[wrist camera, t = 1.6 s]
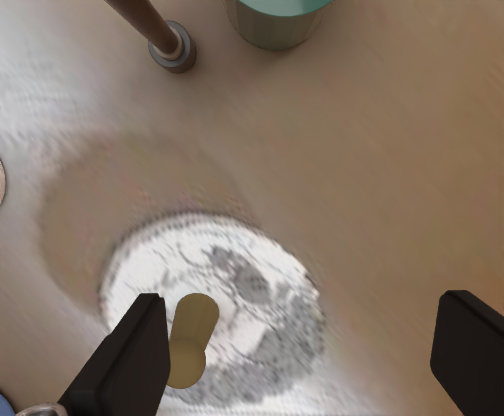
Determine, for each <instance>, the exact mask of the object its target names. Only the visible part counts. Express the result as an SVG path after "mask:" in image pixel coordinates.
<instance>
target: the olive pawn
mask: <svg viewBox="0 0 504 416" xmlns="http://www.w3.org/2000/svg"><path fill="white" fill-rule="evenodd" d="M218 318H219V309H218V306H217V304H216V303H215V301H214V300H213V299H212V298H210V297H209V296H207V295H204V294H200V293H193V294H189V295H187V296H185V297H183V298H182V299H181V300H180V301H179V303H178V305H177V308H176V311H175V316H174V321H173V325H172V330H171V334H170V339H169V350H170V361H171V370H170V376H169V379H168V381H167V384H166V385H168V386H169V387H172V388H176V389H184V388H188V387H190V386H192V385H194V384H195V383H196V382H197V381H198V380H199V379H200V378H201V376H202V374H203V372H204V370H205V365H206V356H205V352H204V351H205V349H206V346H207V344H208V342H209V339H210V337H211V335H212V332H213V330H214V328H215V325H216V323H217V320H218Z"/></svg>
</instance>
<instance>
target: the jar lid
mask: <svg viewBox="0 0 504 416" xmlns="http://www.w3.org/2000/svg"><path fill="white" fill-rule="evenodd" d="M236 1H237V2H238V3H239V4H240V5H242V6H243V7H245V8H246V9H248V10H250V11H252V12H254V13H256V14H258V15H261V16H264V17H268V18H273V19H280V20H286V19H297V18H302V17H305V16H309V15H311V14H314V13H316V12H318V11H320V10H322V9H323V8H325V7H327V6H328V5H330V4H331V3H332V2H333V1H335V0H236Z"/></svg>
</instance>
